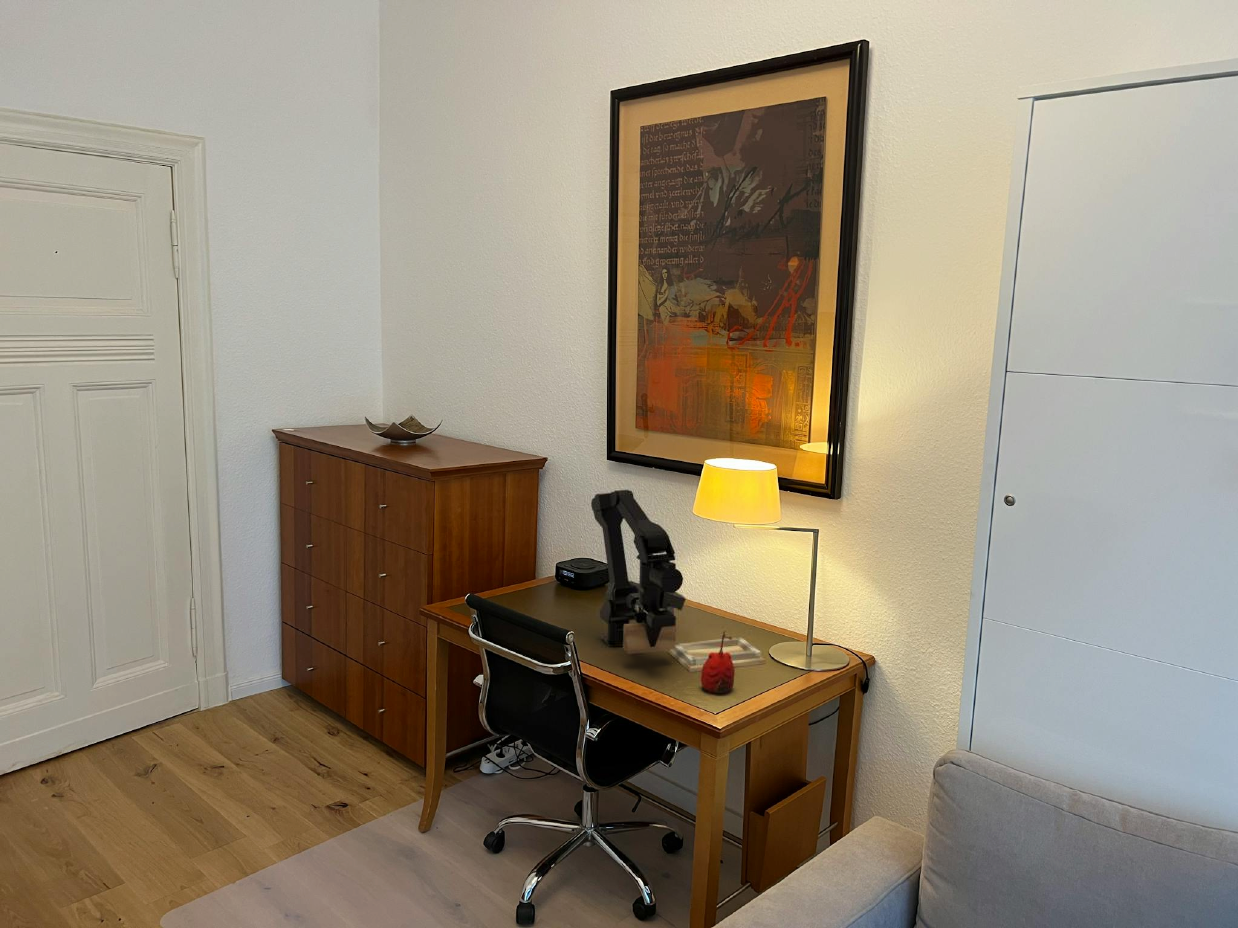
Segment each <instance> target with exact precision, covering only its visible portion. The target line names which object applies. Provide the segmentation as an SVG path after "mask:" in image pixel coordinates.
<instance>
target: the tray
mask: <svg viewBox="0 0 1238 928" xmlns="http://www.w3.org/2000/svg"><path fill="white" fill-rule="evenodd" d="M721 643H722V638H721V639H711V640H710V639H709V640H701V641H694V642H693V641H690V642H680V643H675V649H672V650H667V651H668V653H669V654H670V655H671V656H672V657H673V658H674V659H676V660H677V661H678V662H679V663H680V664H681V665H682V667H684V668H685V669H686V670H687V671H689V673H694V672H695V673H696V672H701V671H702V668H703V664H704V663H705V662H706V660H707V659H708V658H709V654H710V653H719V651H720V649H721V647H720V644H721ZM722 650H723V653H726V652H728V653H729V654H730V655H731V660H732V662H733V666H734V668H738V667H739V668H741V667H748V666H758V665H766V659H765V658H764V657H762V652H761V650H759V649H758V648H756V647H755V646H754V645H753V644H751V643H749V642H748V641H747V640H745V639H744V638H742V637H740V636H739V637H732V640H731V639H728V638H724V641H723V648H722Z"/></svg>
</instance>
